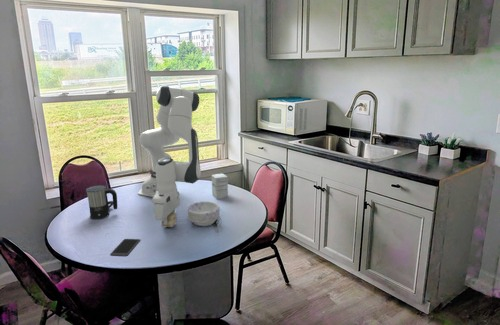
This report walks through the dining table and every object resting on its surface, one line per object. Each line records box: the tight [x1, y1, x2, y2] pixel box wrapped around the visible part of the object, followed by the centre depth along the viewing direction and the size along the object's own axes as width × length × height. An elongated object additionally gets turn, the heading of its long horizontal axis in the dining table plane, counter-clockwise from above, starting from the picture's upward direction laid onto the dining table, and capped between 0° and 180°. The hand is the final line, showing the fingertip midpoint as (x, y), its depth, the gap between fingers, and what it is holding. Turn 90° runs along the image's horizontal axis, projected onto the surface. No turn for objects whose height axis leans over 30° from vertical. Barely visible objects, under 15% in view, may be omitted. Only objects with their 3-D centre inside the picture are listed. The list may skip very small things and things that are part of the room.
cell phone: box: [110, 238, 141, 257], centre depth 147 cm, size 7×14×1 cm, turn 175°
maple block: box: [161, 212, 177, 228], centre depth 165 cm, size 5×5×5 cm
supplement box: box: [211, 173, 229, 200], centre depth 203 cm, size 7×7×13 cm
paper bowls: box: [187, 201, 221, 227], centre depth 169 cm, size 15×15×8 cm
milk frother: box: [85, 185, 118, 220], centre depth 181 cm, size 14×16×15 cm
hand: (169, 221), depth 165 cm, fingers closed on maple block, 5 cm apart
